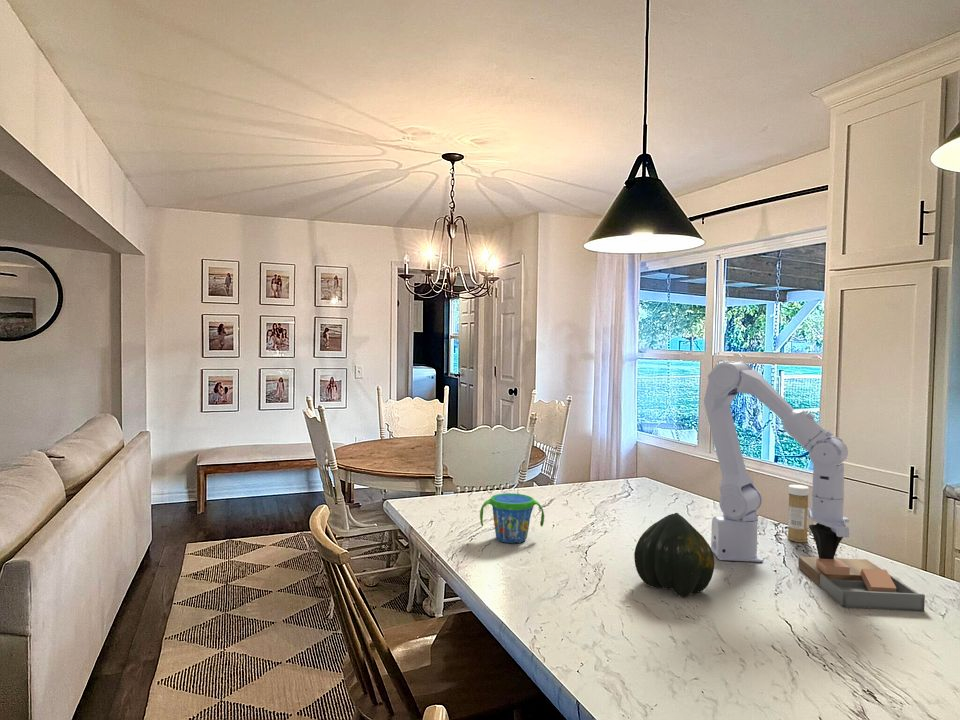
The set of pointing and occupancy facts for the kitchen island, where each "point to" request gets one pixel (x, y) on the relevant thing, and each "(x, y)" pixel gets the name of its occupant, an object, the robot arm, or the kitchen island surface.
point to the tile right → (877, 580)
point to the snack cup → (511, 516)
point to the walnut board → (855, 569)
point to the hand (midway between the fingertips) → (826, 561)
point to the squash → (674, 556)
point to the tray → (872, 595)
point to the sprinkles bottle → (798, 513)
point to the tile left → (833, 566)
